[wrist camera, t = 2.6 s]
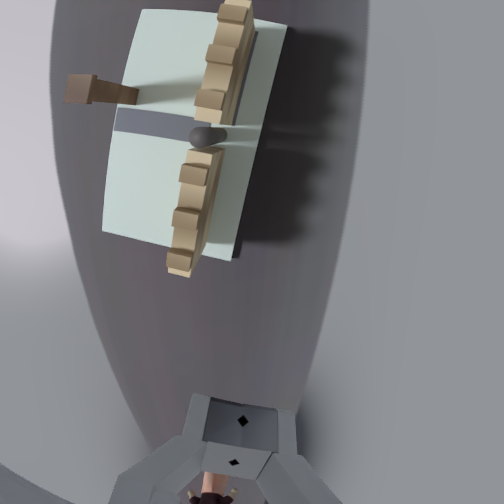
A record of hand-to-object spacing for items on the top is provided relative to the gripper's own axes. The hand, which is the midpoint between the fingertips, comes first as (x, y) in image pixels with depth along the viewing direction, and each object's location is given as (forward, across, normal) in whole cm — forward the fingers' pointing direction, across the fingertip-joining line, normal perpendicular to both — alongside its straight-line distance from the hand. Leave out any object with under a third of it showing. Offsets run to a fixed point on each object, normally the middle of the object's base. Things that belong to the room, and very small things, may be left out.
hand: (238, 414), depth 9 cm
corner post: (+19, +12, -8) cm, 24 cm away
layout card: (+19, +8, -6) cm, 21 cm away
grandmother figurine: (+19, -2, +38) cm, 42 cm away
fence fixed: (+18, +4, -11) cm, 22 cm away
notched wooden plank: (+18, +4, -2) cm, 19 cm away
